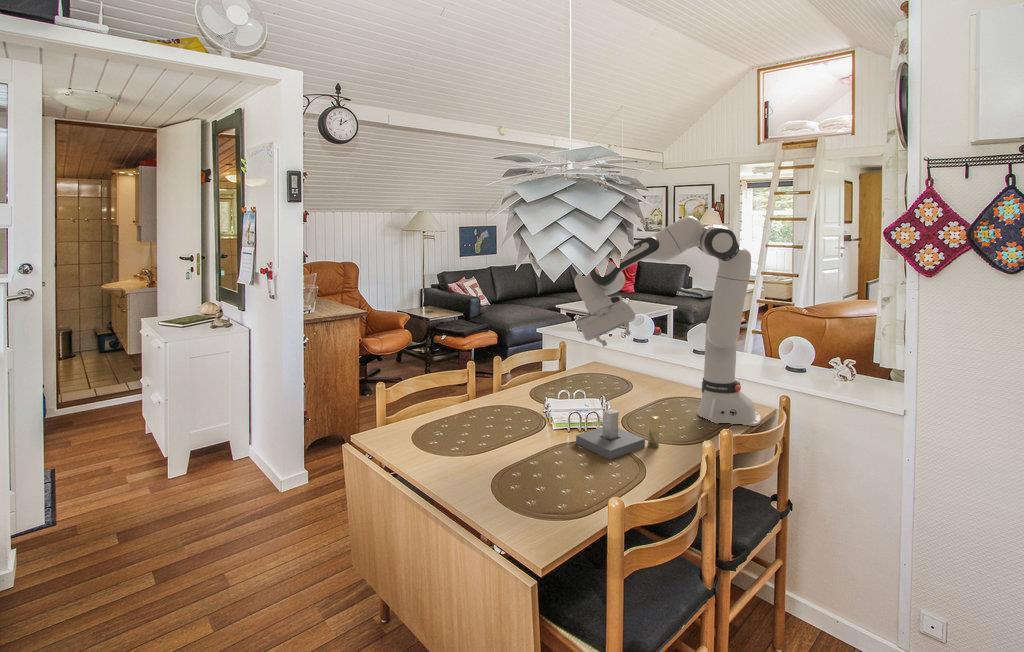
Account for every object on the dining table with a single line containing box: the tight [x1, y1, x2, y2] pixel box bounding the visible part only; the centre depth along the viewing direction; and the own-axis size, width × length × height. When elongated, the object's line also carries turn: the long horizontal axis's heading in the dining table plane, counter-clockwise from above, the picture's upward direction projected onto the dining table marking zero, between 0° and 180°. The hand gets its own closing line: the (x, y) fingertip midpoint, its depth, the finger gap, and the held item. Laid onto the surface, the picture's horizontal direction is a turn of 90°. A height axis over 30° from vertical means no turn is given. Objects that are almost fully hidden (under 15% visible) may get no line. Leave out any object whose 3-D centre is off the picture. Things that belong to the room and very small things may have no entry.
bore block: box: [575, 426, 646, 460], centre depth 189 cm, size 16×16×3 cm
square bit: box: [602, 408, 620, 441], centre depth 189 cm, size 4×4×12 cm
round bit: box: [647, 415, 661, 449], centre depth 188 cm, size 4×4×10 cm
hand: (617, 340), depth 205 cm, fingers open, 8 cm apart
